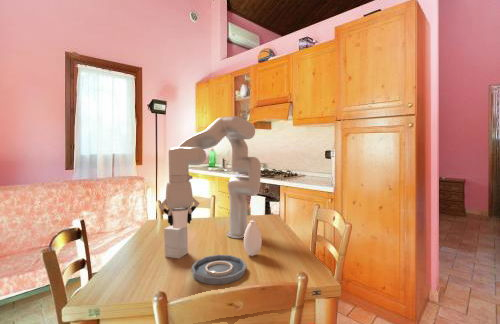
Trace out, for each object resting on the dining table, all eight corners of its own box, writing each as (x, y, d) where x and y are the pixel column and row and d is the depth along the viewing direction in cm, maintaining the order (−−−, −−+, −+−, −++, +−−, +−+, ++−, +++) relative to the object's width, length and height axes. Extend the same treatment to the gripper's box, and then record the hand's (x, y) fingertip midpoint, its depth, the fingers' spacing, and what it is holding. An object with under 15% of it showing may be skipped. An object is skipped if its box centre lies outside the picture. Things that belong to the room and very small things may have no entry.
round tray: (234, 257, 116) (234, 252, 116) (253, 278, 98) (253, 271, 97) (187, 265, 108) (187, 259, 108) (198, 289, 90) (198, 282, 90)
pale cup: (172, 223, 110) (172, 207, 110) (189, 223, 111) (189, 206, 110) (169, 229, 103) (168, 211, 103) (187, 228, 104) (187, 210, 104)
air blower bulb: (248, 260, 113) (248, 218, 112) (240, 253, 120) (240, 213, 119) (264, 256, 117) (264, 215, 116) (256, 250, 123) (256, 212, 122)
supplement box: (188, 252, 121) (188, 225, 120) (178, 259, 114) (178, 229, 113) (174, 250, 123) (174, 223, 123) (164, 256, 116) (163, 228, 116)
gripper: (198, 176, 113) (199, 219, 114) (155, 179, 106) (156, 223, 107) (202, 179, 106) (203, 223, 107) (156, 181, 99) (157, 229, 100)
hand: (179, 223), depth 107 cm, fingers closed on pale cup, 6 cm apart
